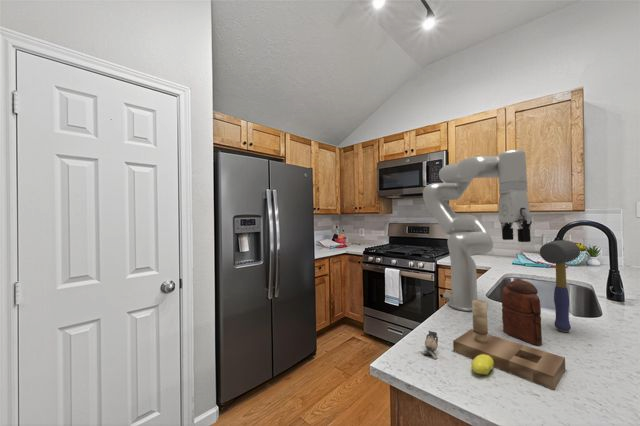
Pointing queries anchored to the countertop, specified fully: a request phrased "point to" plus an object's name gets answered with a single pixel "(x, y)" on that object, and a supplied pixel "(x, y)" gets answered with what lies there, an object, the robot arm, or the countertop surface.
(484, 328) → the dowel
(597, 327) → the countertop surface
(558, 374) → the board
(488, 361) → the lemon
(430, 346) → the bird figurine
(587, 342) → the countertop surface
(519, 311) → the wooden figurine
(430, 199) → the robot arm
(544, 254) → the rubber mallet
